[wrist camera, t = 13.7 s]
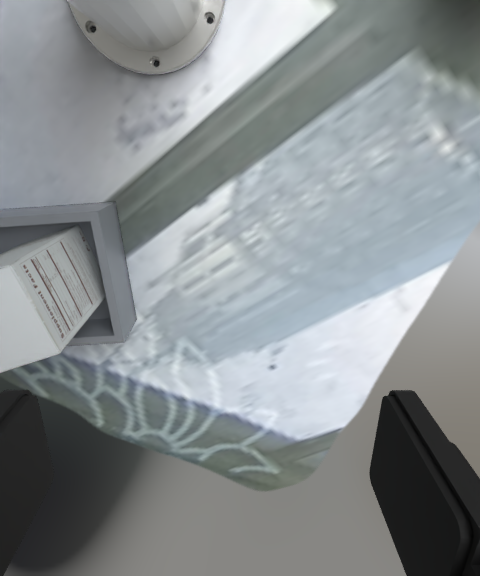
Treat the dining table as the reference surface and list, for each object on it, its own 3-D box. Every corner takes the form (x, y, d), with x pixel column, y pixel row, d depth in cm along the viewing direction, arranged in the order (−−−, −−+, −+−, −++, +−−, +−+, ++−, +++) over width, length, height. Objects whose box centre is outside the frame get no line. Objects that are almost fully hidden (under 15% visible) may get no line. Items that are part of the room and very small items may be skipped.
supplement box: (49, 311, 40) (-29, 384, 28) (12, 245, 38) (-90, 295, 26) (114, 290, 39) (61, 356, 28) (81, 222, 37) (8, 262, 25)
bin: (-14, 210, 37) (-50, 220, 33) (115, 201, 37) (98, 211, 32) (21, 326, 42) (-6, 350, 37) (136, 319, 42) (124, 342, 37)
